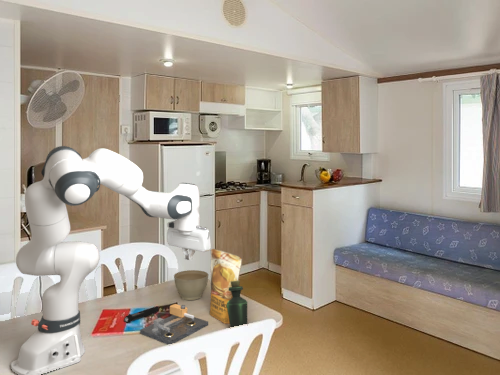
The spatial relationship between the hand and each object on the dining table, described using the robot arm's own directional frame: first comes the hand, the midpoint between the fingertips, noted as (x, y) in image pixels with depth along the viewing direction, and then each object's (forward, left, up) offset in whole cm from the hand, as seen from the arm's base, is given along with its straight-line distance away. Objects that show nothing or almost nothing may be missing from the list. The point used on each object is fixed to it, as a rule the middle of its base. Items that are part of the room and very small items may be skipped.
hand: (188, 259), depth 161 cm
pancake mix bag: (+15, -5, -28) cm, 32 cm away
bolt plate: (-5, +3, -27) cm, 28 cm away
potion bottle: (+8, -18, -26) cm, 33 cm away
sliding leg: (+1, +4, -25) cm, 26 cm away
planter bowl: (+25, +22, -28) cm, 43 cm away
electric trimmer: (-5, +23, -28) cm, 36 cm away
